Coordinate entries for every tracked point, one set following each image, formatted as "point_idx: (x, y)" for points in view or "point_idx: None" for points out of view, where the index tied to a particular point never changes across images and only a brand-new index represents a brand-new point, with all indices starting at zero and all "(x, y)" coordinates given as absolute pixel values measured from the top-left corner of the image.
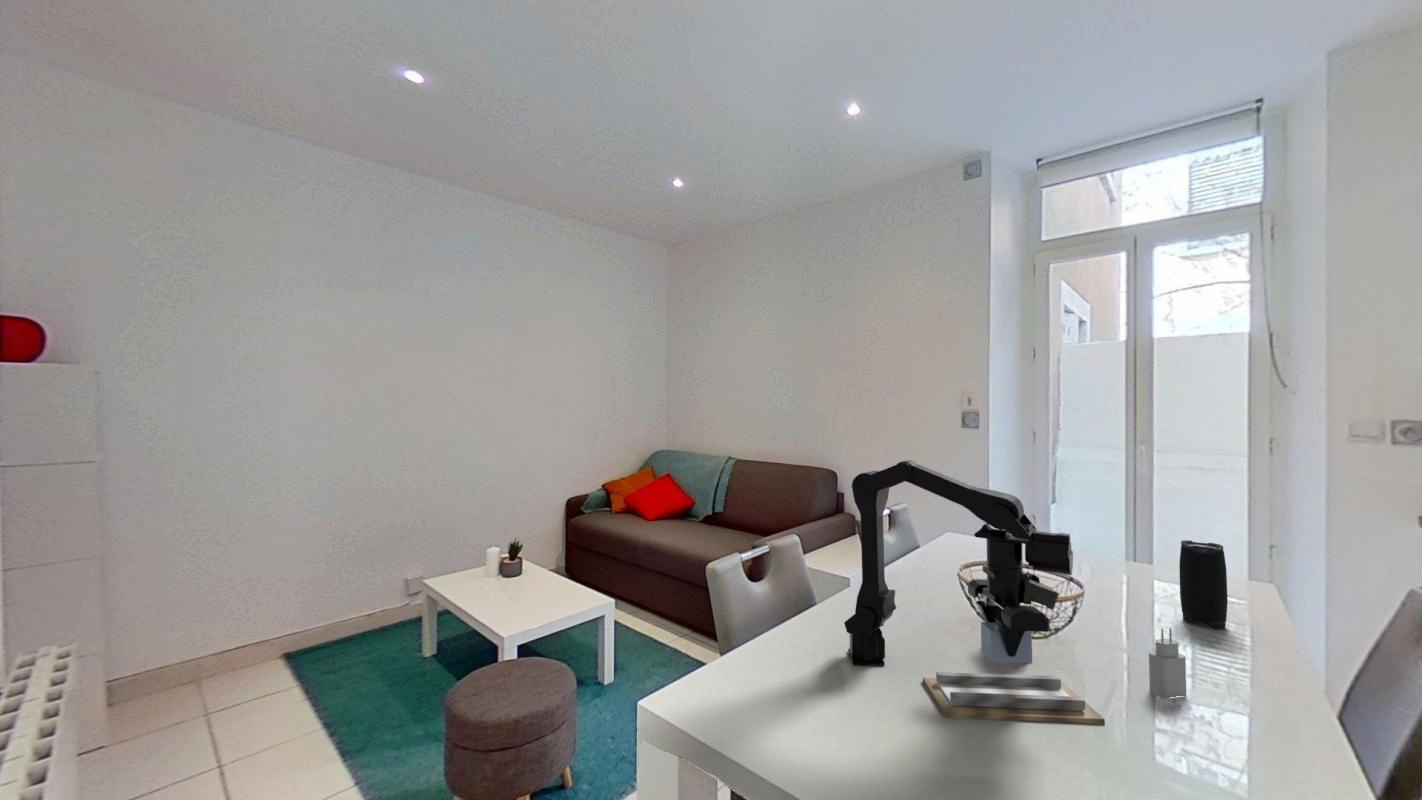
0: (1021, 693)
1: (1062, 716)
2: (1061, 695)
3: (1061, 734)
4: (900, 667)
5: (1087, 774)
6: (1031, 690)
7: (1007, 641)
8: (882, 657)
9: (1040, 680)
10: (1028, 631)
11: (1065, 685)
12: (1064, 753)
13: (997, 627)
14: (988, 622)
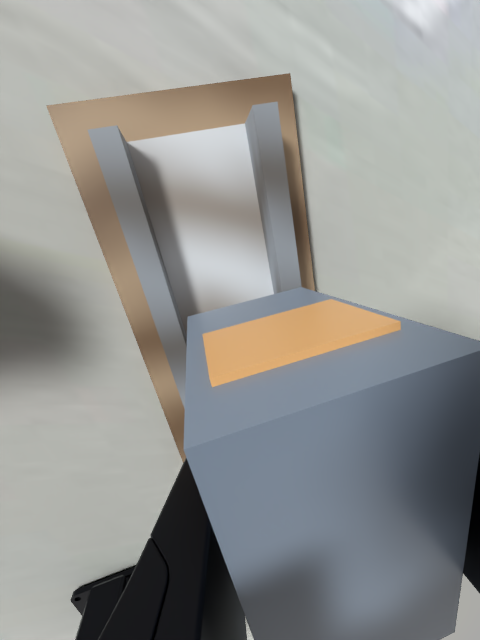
0: (216, 292)
1: (302, 209)
2: (187, 164)
3: (350, 235)
4: (139, 534)
5: (464, 232)
6: (185, 258)
7: None
8: (125, 582)
9: (146, 217)
10: (477, 378)
11: (73, 106)
12: (411, 253)
13: (386, 616)
14: None
